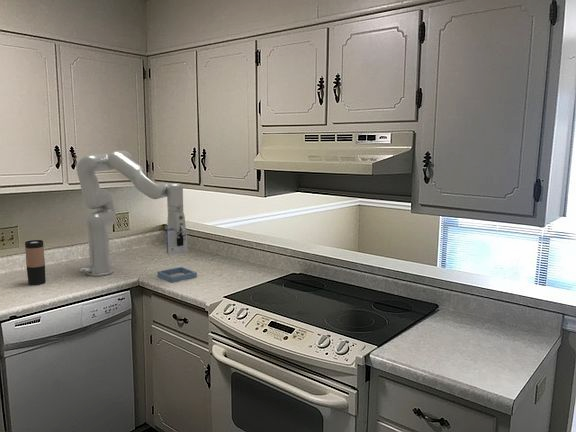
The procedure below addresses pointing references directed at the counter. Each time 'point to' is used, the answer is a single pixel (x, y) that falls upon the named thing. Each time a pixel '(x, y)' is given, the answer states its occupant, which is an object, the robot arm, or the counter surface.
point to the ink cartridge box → (175, 242)
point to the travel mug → (35, 262)
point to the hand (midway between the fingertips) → (176, 244)
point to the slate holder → (188, 275)
